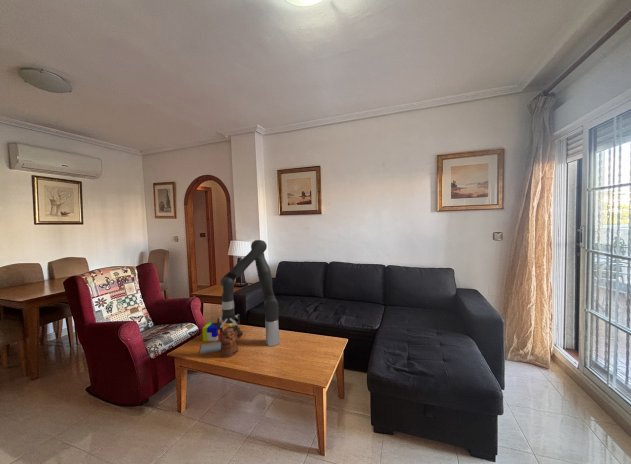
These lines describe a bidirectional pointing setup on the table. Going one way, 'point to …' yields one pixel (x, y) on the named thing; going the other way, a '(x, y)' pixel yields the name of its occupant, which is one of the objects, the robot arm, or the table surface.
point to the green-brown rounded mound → (237, 329)
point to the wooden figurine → (229, 342)
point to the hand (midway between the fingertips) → (229, 331)
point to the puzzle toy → (211, 332)
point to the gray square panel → (210, 348)
